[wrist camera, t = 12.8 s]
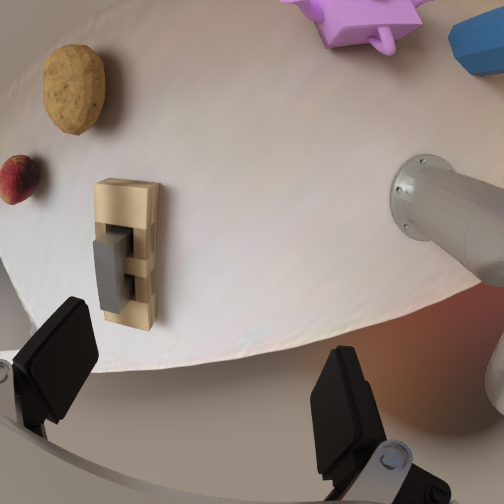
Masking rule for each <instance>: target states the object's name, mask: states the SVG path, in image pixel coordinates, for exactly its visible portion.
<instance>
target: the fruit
mask: <svg viewBox="0 0 504 504" xmlns="http://www.w3.org/2000/svg"><path fill="white" fill-rule="evenodd" d="M38 181H39V174H38V170H37V168H36V166H35V165H34V163H33V162H32V161H31V160H30V158H29V157H28V156H25V155H16V156H12V157H11V158H9V159H8V160H7V161H6V162H5V163H4V164H3V165H2V167H1V169H0V197H1V198H2V199H3V201H4V202H5V203H7V204H10V205H15V204H17V203H20V202H22V201H24V200H26V199H27V198H28V197H30V196H31V195H32V194H33V189H34V187H35V186H36V185H37V183H38Z"/></svg>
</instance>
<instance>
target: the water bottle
mask: <svg viewBox="0 0 504 504" xmlns="http://www.w3.org/2000/svg"><path fill="white" fill-rule="evenodd" d="M448 39H449V42H450V44H451V47H452V50H453V53H454V56H455V58H456V59H457V61H458V62H459V63H460V64H461V65H462V66H463V67H464V68H465V69H466V70H467V71H468V72H469V73H470V74H475V75H483V76H484V75H492V74H500V73H504V6H503V7H500V8H497V9H494V10H491V11H489V12H486V13H483V14H481V15H478V16H475V17H473V18H470V19H468V20H466V21H463V22H461V23H458V24H456V25H454V26H453V28H452V30H451V32H450V34H449V36H448Z"/></svg>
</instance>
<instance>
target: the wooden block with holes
mask: <svg viewBox="0 0 504 504" xmlns="http://www.w3.org/2000/svg"><path fill="white" fill-rule="evenodd" d="M158 192H159V183H155V182H146V181H135V180H125V179H113V178H108V179H105V180H103V181H100V182H97V183H95V185H94V207H95V235H96V239H97V238H99V237H100V236H101V235H103V234H104V233H106V232H107V231H109V230H110V229H111V228H113V227H114V226H116V225H120V226H126V227H133V228H134V250H133V251H132V252H131V253H130V254H129V255H128V256H127V257H126V258H125V259H124V260H123V264H124V273H126V274H130V275H135V294H134V295H133V297H132V298H131V299H130V301H129V302H128V303H127V305H126V306H125V307H124V309H123V310H122V312H121V313H120V314H115V313H111V312H108V311H104V316H105V320H107V321H111V322H114V323H118V324H121V325H125V326H129V327H133V328H137V329H141V330H145V331H150V329H151V327H152V325H153V323H154V321H155V320H156V318H157V304H156V233H157V209H158Z"/></svg>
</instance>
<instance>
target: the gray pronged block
mask: <svg viewBox="0 0 504 504" xmlns="http://www.w3.org/2000/svg"><path fill="white" fill-rule="evenodd" d="M93 250H94V261H95V271H96V280H97V287H98V295H99V301H100V308H101V310H104V311H108V312H111V313H115V314H120V313H121V312H122V310H123V309H124V307H125V306H126V305H127V303H128V302H129V301H130V299H131V298H132V297H133V295H134V294H135V275H130V274H126V273H124V264H123V260H124V259H125V258H126V257H127V256H128V255H129V254H130V253H131V252H132V251H133V250H134V228H133V227H126V226H120V225H116V226H114V227H113V228H111V229H110V230H109V231H107V232H106V233H104V234H103V235H101V236H100V237H99V238H97V239H96V240H95V241H93Z"/></svg>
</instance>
